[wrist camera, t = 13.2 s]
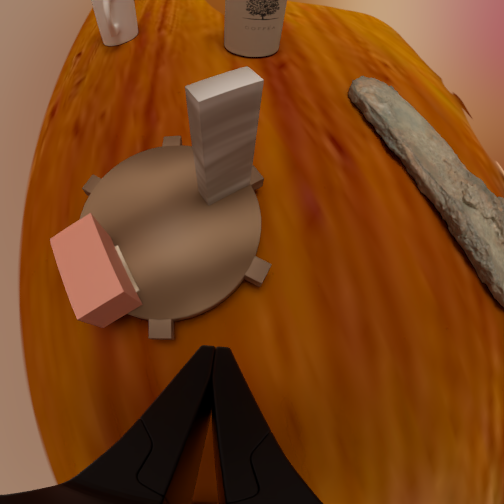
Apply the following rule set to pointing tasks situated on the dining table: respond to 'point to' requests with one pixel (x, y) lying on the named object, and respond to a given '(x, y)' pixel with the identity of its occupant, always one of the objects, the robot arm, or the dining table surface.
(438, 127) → the dining table surface
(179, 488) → the robot arm
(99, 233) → the dusty pink block
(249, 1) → the travel mug
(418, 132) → the elongated rock
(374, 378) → the dining table surface
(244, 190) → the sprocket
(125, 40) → the mug
